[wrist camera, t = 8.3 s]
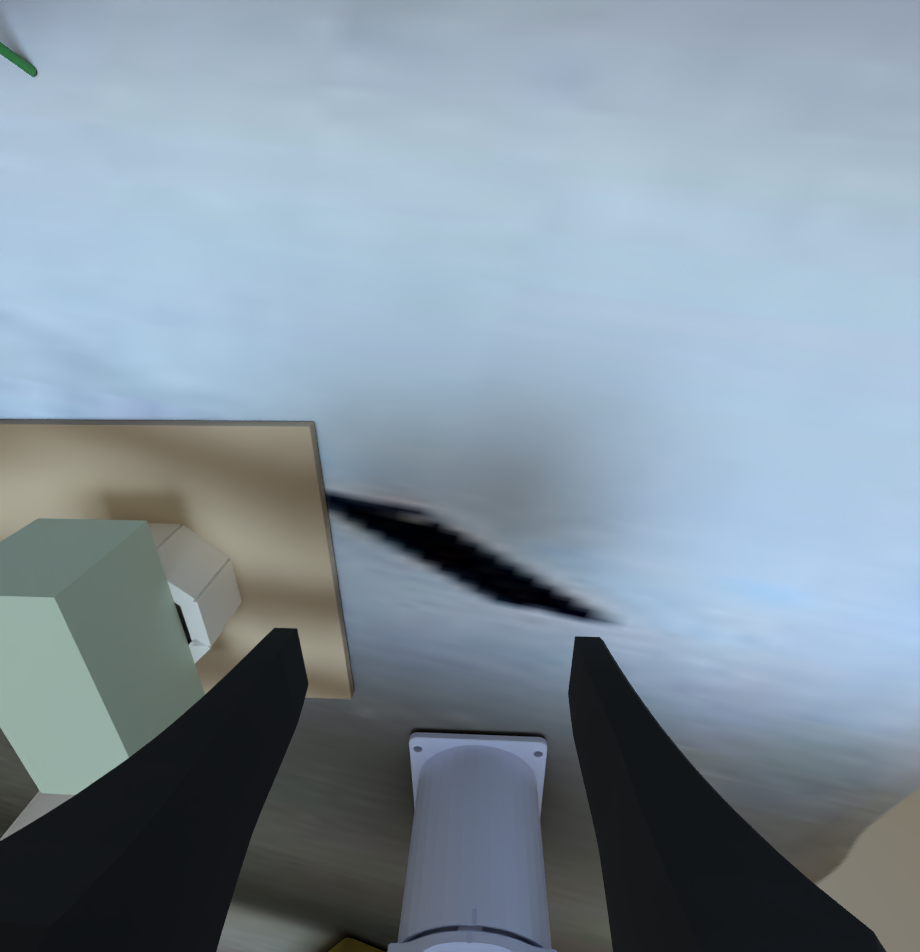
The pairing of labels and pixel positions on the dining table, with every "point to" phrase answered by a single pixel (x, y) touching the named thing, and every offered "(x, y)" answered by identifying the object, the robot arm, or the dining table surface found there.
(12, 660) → the green rectangular block
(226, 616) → the white octagonal prism
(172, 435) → the mat
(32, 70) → the lily
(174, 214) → the dining table surface
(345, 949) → the flower pot
